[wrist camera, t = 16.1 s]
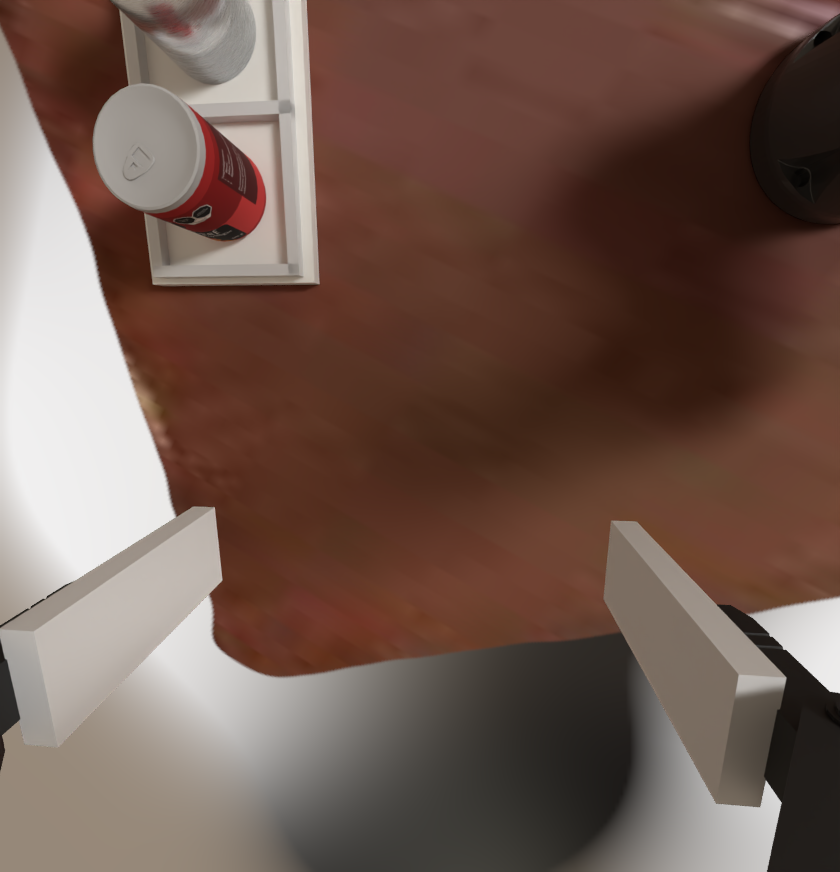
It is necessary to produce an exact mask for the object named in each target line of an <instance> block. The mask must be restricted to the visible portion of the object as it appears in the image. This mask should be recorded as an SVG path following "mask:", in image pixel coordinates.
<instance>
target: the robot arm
mask: <svg viewBox="0 0 840 872" xmlns="http://www.w3.org/2000/svg"><path fill="white" fill-rule="evenodd" d="M750 152H751V160H752V165H753V168H754V172H755V175H756V177H757V179H758V182H759V184H760V185H761V187H762V189H763V190H764V192H765V193H766V195H767V196H768V197H769V198H770V200H771V201H772V202H773V203H774V204H775V205H777V206H778V207H779V208H780V209H782V210H783V211H785V212H786V213H788V214H790V215H792V216H794V217H796V218H798V219H801V220H804V221H808V222H813V223H820V224H838V223H840V14H838V15H837V16H835V17H834V18H832V19H831V20H829V21H828V22H826V23H825V24H823V25H822V26H821V27H819V28H818V29H817V30H816V31H815V32H813V33H812V34H811V35H810V36H809V37H808V38H806V39H805V40H804V41H803V42H802V43H801V44H800V45H798V46H797V47H796V48H795V49H794V50H793V51H792V52H791V53H790V54H789V55H788V56H787V57H786V58H785V59H784V60H783V61H782V62H781V64H780V65H779V66H778V67H777V69H776V70H775V71H774V73H773V74H772V76H771V77H770V79H769V80H768V82H767V84H766V86H765V88H764V89H763V92H762V94H761V96H760V98H759V101H758V103H757V106H756V109H755V112H754V116H753V120H752V126H751V134H750ZM221 581H222V572H221V563H220V553H219V544H218V534H217V524H216V515H215V507H192V508H190V509H189V510H187V511H186V512H184V513H182V514H181V515H179V516H178V517H176V518H174V519H173V520H171V521H170V522H168V523H166V524H165V525H163V526H162V527H160V528H158V529H157V530H155V531H154V532H152V533H151V534H149V535H147V536H146V537H144V538H143V539H141V540H139V541H138V542H136V543H135V544H133V545H131V546H130V547H128V548H127V549H125V550H123V551H122V552H120V553H119V554H117V555H115V556H114V557H112V558H111V559H109V560H108V561H106V562H104V563H103V564H101V565H100V566H98V567H96V568H95V569H93V570H92V571H90V572H88V573H87V574H85V575H84V576H82V577H80V578H79V579H77V580H76V581H74V582H71V583H69V584H66V585H65V586H63V587H61V588H60V589H58V590H56V591H55V592H53V593H52V594H50V595H48V596H47V598H46V599H42V600H40V601H39V602H37V603H36V604H34V605H32V606H31V609H26V610H24V611H23V612H21V613H20V614H18V615H16V616H15V617H13V618H12V619H10V620H8V621H7V622H5V623H4V624H2V625H0V770H1V766H2V761H3V757H4V753H5V748H4V742H3V738H2V735H3V734H4V733H5V732H6V731H7V730H8V729H10V728H11V727H12V726H13V725H14V724H15V723H17V722H18V721H19V723H20V727H21V732H22V736H23V740H24V744H25V745H36V746H48V747H59V746H60V745H61V744H62V743H63V742H64V741H65V740H66V739H67V738H68V737H69V736H70V735H71V734H72V732H74V731H75V729H76V728H78V727H79V725H80V724H81V723H82V722H83V721H84V720H85V719H86V718H87V717H88V716H89V715H90V714H91V713H92V712H93V711H94V710H95V709H96V708H97V707H98V706H99V705H100V704H101V703H102V702H103V701H104V700H105V699H106V698H107V697H108V696H109V695H110V694H111V693H112V692H113V691H114V690H115V689H116V688H117V687H118V686H119V685H120V684H121V683H122V682H123V681H124V680H125V679H126V678H127V677H128V676H129V675H130V674H131V673H132V672H133V671H134V670H135V669H136V668H137V667H138V666H139V664H141V663H142V662H143V660H144V659H145V658H146V657H147V656H148V655H149V654H150V653H151V652H152V651H153V650H154V649H155V648H156V647H157V646H158V645H159V644H160V643H161V642H162V641H163V640H164V639H165V638H166V637H167V636H168V635H169V634H170V633H171V632H172V631H173V630H174V629H175V628H176V627H177V626H178V625H179V624H180V623H181V622H182V621H183V620H184V619H185V618H186V617H187V616H188V615H189V614H190V613H191V612H192V611H193V610H194V609H195V608H196V607H197V606H198V605H199V604H200V603H201V601H203V600H204V598H206V597H207V596H208V595H209V594H210V592H211V591H212V590H213V589H214V588H215V587H216V586H217V585H218V584H219V583H220V582H221ZM604 601H605V603H606V604H607V606H608V608H609V610H610V612H611V613H612V615H613V617H614V619H615V621H616V623H617V624H618V626H619V628H620V630H621V632H622V633H623V635H624V637H625V639H626V641H627V643H628V644H629V646H630V648H631V650H632V652H633V653H634V655H635V657H636V659H637V661H638V662H639V664H640V666H641V668H642V669H643V672H644V673H645V675H646V677H647V679H648V680H649V682H650V684H651V686H652V688H653V690H654V691H655V693H656V695H657V697H658V699H659V701H660V702H661V704H662V706H663V708H664V710H665V712H666V713H667V715H668V717H669V719H670V721H671V722H672V724H673V726H674V728H675V730H676V731H677V733H678V735H679V737H680V739H681V741H682V742H683V744H684V746H685V748H686V750H687V752H688V753H689V755H690V757H691V759H692V760H693V762H694V764H695V766H696V768H697V770H698V771H699V773H700V775H701V777H702V779H703V781H704V782H705V784H706V786H707V788H708V790H709V791H710V793H711V795H712V797H713V799H714V801H715V802H716V804H728V805H740V806H753V807H760V805H761V800H762V796H763V790H764V786H765V781H767V782H768V784H769V785H770V786H771V788H772V789H773V791H774V792H775V794H776V795H777V796H778V798H779V799H780V801H781V802H782V804H781V809H780V813H779V818H778V823H777V827H776V832H775V837H774V841H773V846H772V850H771V856H770V860H769V865H768V870H767V872H840V693H835V692H829V691H828V690H827V689H826V688H825V687H824V686H823V685H822V684H821V683H820V682H819V681H818V680H817V679H816V678H815V677H814V676H813V675H812V674H811V673H810V672H809V671H808V670H807V669H805V668H804V667H803V666H802V665H801V664H800V663H799V662H798V661H797V660H796V659H795V658H794V657H793V656H792V655H791V654H790V653H789V652H788V651H787V650H783V647H782V646H781V645H780V644H779V643H778V642H777V641H776V640H775V639H774V638H773V637H770V636H769V633H768V632H767V631H766V630H765V629H764V628H763V627H761V626H760V625H759V624H758V623H757V622H756V621H755V620H754V619H753V618H751V617H750V616H748V615H746V614H745V613H743V612H741V611H740V610H738V609H736V608H735V607H733V606H731V605H717V604H715V603H714V602H713V601H712V600H711V599H710V598H709V597H708V596H707V594H706V593H705V592H704V591H703V590H702V589H701V588H700V587H699V586H698V585H697V584H696V583H695V582H694V581H693V580H692V579H691V578H690V577H689V576H688V575H687V574H686V573H685V572H684V571H683V570H682V569H681V568H680V566H679V565H678V564H677V563H676V562H675V561H674V560H673V559H672V558H671V557H670V556H669V555H668V554H667V553H666V552H665V551H664V550H663V549H662V548H661V547H660V546H659V545H658V544H657V543H656V542H655V541H654V539H653V538H652V537H651V536H650V535H649V534H648V533H647V532H646V531H645V530H644V529H643V528H642V527H641V526H640V525H639V524H638V523H637V522H633V521H611V528H610V538H609V548H608V559H607V569H606V579H605V589H604Z"/></svg>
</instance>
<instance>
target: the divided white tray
mask: <svg viewBox="0 0 840 872" xmlns="http://www.w3.org/2000/svg"><path fill="white" fill-rule="evenodd" d="M248 1H249V3H250V5H251V8H252V11H253V14H254V18H255V24H256V41H255V47H254V51H253V54H252V56H251V58H250V61H249V62H248V64H247V66H246V67H245V68H244V70H243V71H242V72H241V73H240V74H239V75H238V76H236V77H235V78H233V79H232V80H230V81H228V82H225V83H222V84H205V83H202V82H199V81H197V80H195V79H193V78H191V77H190V76H188V75H187V74H186V73H185V72H184V71H183V70H182V69H181V68H180V67H179V66H178V65H177V64H176V63H174V62H173V61H172V60H171V59H170V58H169V57H168V56H167V55H166V54H165V53H164V52H163V51H162V50H161V49H160V48H159V47H158V46H157V45H156V44H155V43H154V42H153V41H152V40H151V39H150V38H149V37H148V36H147V35H145V34H144V33H143V32H142V31H141V30H140V29H139V28H138V27H137V26H136V25H135V24H134V23H133V22H132V21H131V20H130V19H129V18H128V17H127V16H126V15H125V14H124V13H123V12H122V11H121V10H120V9H119V11H120V19H121V28H122V36H123V44H124V52H125V60H126V69H127V77H128V85H129V86H130V85H134V84H140V83H144V84H153V85H157V86H160V87H163V88H165V89H166V90H168V91H170V92H172V93H173V94H175V95H176V96H178V97H179V98H180V99H182V100H183V101H184V102H185V103H186V104H188V105H189V106H190V107H191V108H193V109H194V110H195V111H196V112H197V113H198V114H199V115H201V116H202V117H203V118H204V119H205V120H206V121H207V122H209V123H210V124H211V125H212V126H213V127H214V128H215V129H217V130H218V131H219V132H220V133H221V134H222V135H224V136H225V137H226V138H227V139H228V140H229V141H230V142H232V143H233V144H234V145H235V146H236V147H237V148H238V149H240V150H241V151H242V152H243V153H244V154H245V155H246V156H248V157H249V158H250V159H251V160H252V161H253V163H254V164H255V165H256V166H257V168H258V170H259V172H260V174H261V176H262V179H263V182H264V186H265V190H266V206H265V210H264V214H263V216H262V219H261V221H260V222H259V224H258V225H257V227H256V228H255V229H254V230H253V231H252V232H251V233H250V234H248V235H247V236H245V237H243V238H240V239H238V240H234V241H226V242H223V241H216V240H212V239H209V238H207V237H204V236H202V235H199V234H196V233H194V232H191V231H189V230H186V229H184V228H181V227H179V226H176V225H173V224H171V223H168V222H166V221H163V220H161V219H158V218H155V217H153V216H150V215H148V214H146V213H144V216H145V224H146V233H147V241H148V249H149V257H150V265H151V274H152V282H153V284H154V285H159V286H223V285H316V284H319V263H318V241H317V219H316V197H315V175H314V154H313V132H312V110H311V88H310V66H309V45H308V23H307V1H306V0H248Z"/></svg>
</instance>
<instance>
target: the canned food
mask: <svg viewBox="0 0 840 872" xmlns="http://www.w3.org/2000/svg"><path fill="white" fill-rule="evenodd" d="M93 154H94V159H95V164H96V166H97V169H98V172H99V175H100V176H101V178H102V180H103V182H104V183H105V185H106V186H107V188H108V189H109V190H110V191H111V192H112V194H113V195H115V196H116V197H117V198H118V199H119V200H121V201H122V202H124V203H126V204H127V205H129V206H131V207H132V208H134V209H136V210H139V211H141V212H144V213H146V214H148V215H150V216H153V217H155V218H158V219H161V220H163V221H166V222H168V223H171V224H173V225H176V226H179V227H181V228H184V229H186V230H189V231H191V232H194V233H196V234H199V235H202V236H204V237H207V238H209V239H212V240H216V241H223V242H226V241H234V240H238V239H240V238H243V237H245V236H247V235H248V234H250V233H251V232H252V231H253V230H254V229H255V228H256V227H257V225H258V224H259V222H260V221H261V219H262V216H263V214H264V210H265V206H266V190H265V186H264V182H263V179H262V176H261V174H260V172H259V170H258V168H257V166H256V165H255V164H254V163H253V161H252V160H251V159H250V158H249V157H248V156H246V155H245V154H244V153H243V152H242V151H241V150H240V149H238V148H237V147H236V146H235V145H234V144H233V143H232V142H230V141H229V140H228V139H227V138H226V137H225V136H224V135H222V134H221V133H220V132H219V131H218V130H217V129H215V128H214V127H213V126H212V125H211V124H210V123H209V122H207V121H206V120H205V119H204V118H203V117H202V116H201V115H199V114H198V113H197V112H196V111H195V110H194V109H193V108H191V107H190V106H189V105H188V104H186V103H185V102H184V101H183V100H182V99H180V98H179V97H178V96H176V95H175V94H173V93H172V92H170V91H168V90H166V89H165V88H163V87H160V86H157V85H153V84H144V83H140V84H134V85H130V86H127V87H125V88H123V89H120V90H119V91H118V92H116V93H115V94H114V95H112V96H111V97H110V98H109V100H108V101H107V102H106V103H105V104H104V106H103V108H102V109H101V111H100V113H99V115H98V117H97V120H96V123H95V127H94V133H93Z"/></svg>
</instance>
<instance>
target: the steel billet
mask: <svg viewBox="0 0 840 872" xmlns="http://www.w3.org/2000/svg"><path fill="white" fill-rule="evenodd" d="M110 1H111V2H112V3H113V4H114V5H115V6H116V7H118V8H119V9H120V10H121V11H122V12H123V13H124V14H125V15H126V16H127V17H128V18H129V19H130V20H131V21H132V22H133V23H134V24H135V25H136V26H137V27H138V28H139V29H140V30H141V31H142V32H143V33H144V34H145V35H147V36H148V37H149V38H150V39H151V40H152V41H153V42H154V43H155V44H156V45H157V46H158V47H159V48H160V49H161V50H162V51H163V52H164V53H165V54H166V55H167V56H168V57H169V58H170V59H171V60H172V61H173V62H174V63H176V64H177V65H178V66H179V67H180V68H181V69H182V70H183V71H184V72H185V73H186V74H187V75H188V76H190V77H191V78H193V79H195V80H197V81H199V82H202V83H205V84H222V83H225V82H228V81H230V80H232V79H233V78H235V77H236V76H238V75H239V74H240V73H241V72H242V71H243V70H244V68H245V67H246V66H247V64H248V62H249V61H250V58H251V56H252V54H253V51H254V47H255V41H256V24H255V18H254V14H253V11H252V8H251V5H250V3H249V1H248V0H110Z"/></svg>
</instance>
